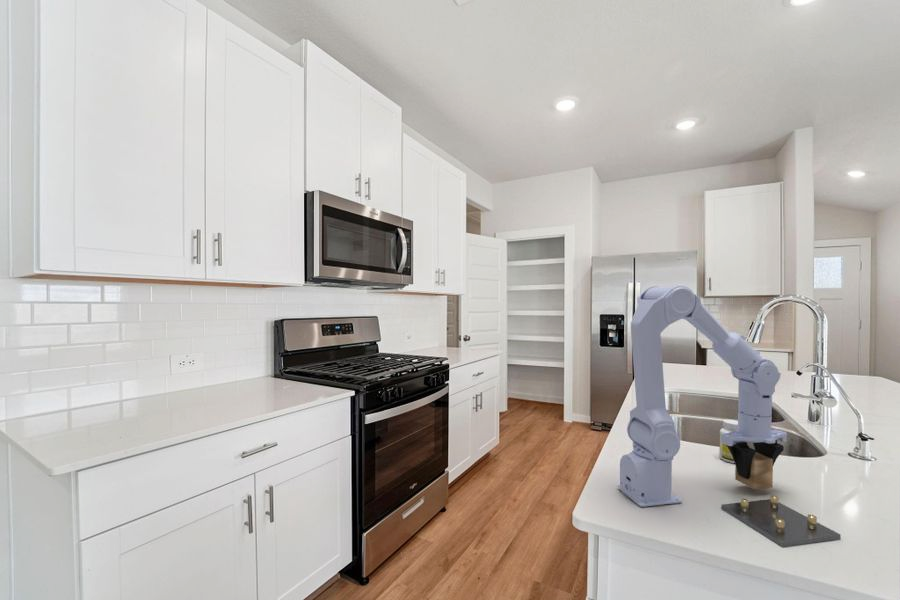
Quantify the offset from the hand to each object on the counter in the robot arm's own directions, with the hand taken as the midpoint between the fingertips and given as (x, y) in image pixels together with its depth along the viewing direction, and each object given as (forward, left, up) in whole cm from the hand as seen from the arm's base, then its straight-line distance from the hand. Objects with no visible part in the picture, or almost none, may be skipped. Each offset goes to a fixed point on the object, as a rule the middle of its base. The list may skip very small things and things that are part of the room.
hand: (753, 475), depth 85 cm
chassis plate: (-7, -11, -3) cm, 13 cm away
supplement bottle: (+9, +14, -3) cm, 17 cm away
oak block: (0, 0, -2) cm, 2 cm away
